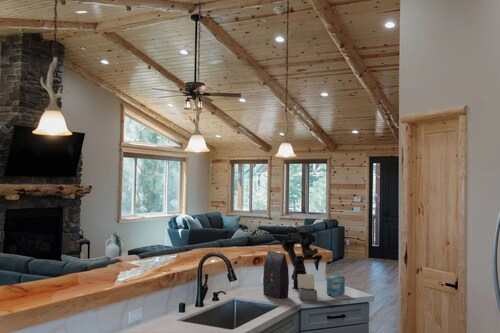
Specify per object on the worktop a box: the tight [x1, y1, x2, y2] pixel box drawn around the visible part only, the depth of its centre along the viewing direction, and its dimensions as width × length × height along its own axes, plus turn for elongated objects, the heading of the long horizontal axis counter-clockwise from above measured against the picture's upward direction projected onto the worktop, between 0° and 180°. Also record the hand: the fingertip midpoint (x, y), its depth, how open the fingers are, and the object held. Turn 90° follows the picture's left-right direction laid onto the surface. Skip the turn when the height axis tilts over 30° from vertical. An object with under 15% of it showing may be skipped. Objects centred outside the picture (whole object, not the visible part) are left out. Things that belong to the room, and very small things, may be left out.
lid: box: [298, 273, 315, 289], centre depth 286 cm, size 8×10×1 cm
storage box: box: [298, 287, 318, 302], centre depth 280 cm, size 8×10×6 cm
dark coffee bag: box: [262, 250, 290, 300], centre depth 289 cm, size 8×16×28 cm, turn 41°
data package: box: [326, 274, 346, 297], centre depth 294 cm, size 12×4×12 cm, turn 124°
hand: (311, 270), depth 294 cm, fingers open, 9 cm apart
